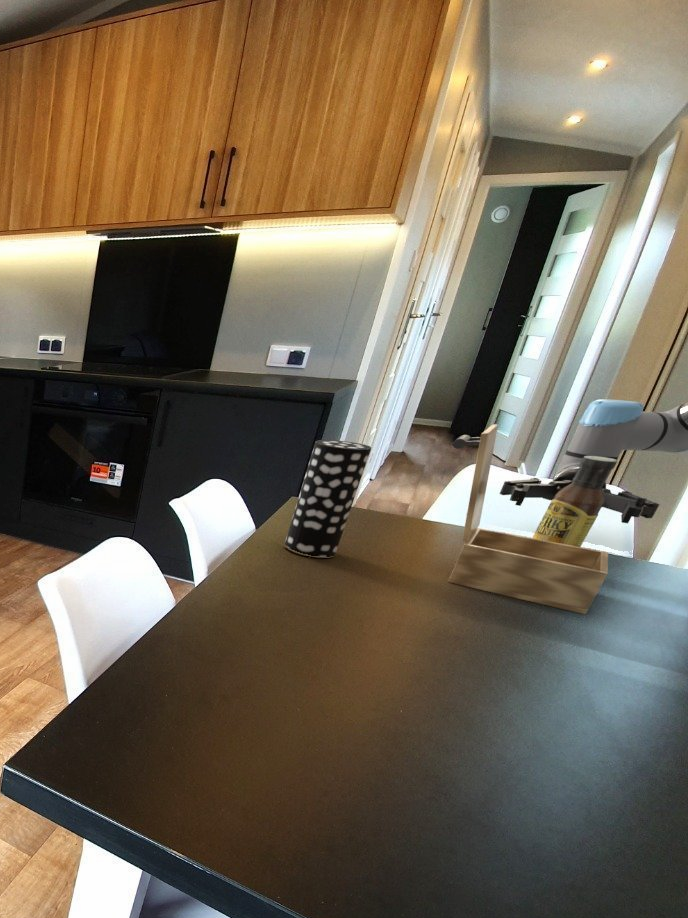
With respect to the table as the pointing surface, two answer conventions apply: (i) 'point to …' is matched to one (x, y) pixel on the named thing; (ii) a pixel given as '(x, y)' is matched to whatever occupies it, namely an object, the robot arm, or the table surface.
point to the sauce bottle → (576, 504)
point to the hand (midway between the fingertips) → (572, 506)
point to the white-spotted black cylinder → (326, 497)
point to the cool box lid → (478, 476)
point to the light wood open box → (531, 569)
